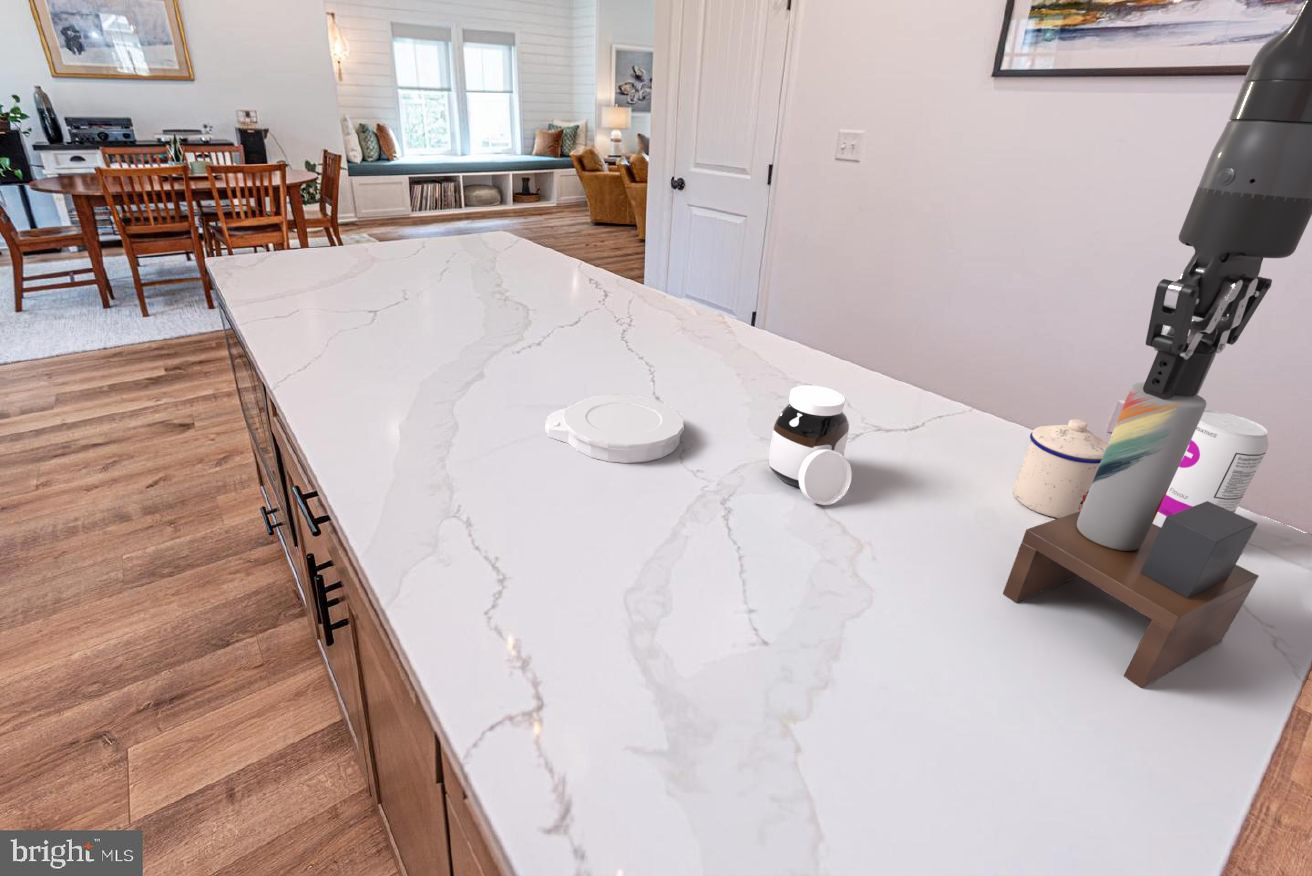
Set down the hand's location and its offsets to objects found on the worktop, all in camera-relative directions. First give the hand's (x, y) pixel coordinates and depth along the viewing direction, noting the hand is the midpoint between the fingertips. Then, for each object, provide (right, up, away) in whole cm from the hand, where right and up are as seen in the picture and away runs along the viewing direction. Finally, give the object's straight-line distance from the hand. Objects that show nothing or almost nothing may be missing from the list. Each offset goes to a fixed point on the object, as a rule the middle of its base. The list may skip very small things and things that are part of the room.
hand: (1170, 391), depth 60 cm
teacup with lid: (+6, -12, +30) cm, 33 cm away
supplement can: (+19, -16, +24) cm, 34 cm away
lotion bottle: (-1, -14, +7) cm, 15 cm away
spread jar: (-26, -10, +29) cm, 40 cm away
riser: (0, -22, +8) cm, 23 cm away
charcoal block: (+2, -17, +1) cm, 17 cm away
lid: (-52, -4, +38) cm, 64 cm away
